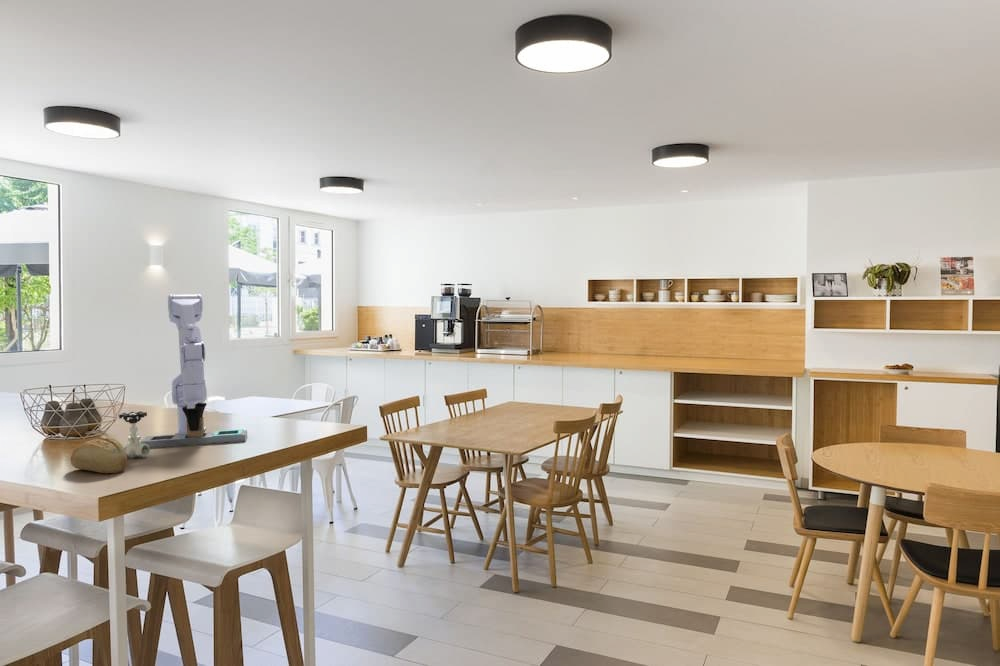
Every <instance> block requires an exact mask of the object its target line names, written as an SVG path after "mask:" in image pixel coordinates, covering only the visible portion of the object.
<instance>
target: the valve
mask: <svg viewBox="0 0 1000 666" xmlns="http://www.w3.org/2000/svg"><path fill="white" fill-rule="evenodd" d="M147 416H148V413H147V411H142V410H141V411H137V412H135V411H129V412H127V413H126V412H122V413H121V414H119V415H118V419H123V420H124V422H126V423H129V424H130V425H131V426H129V433H130V435H129V436H127V442H123V443H121V444H122V446H123V448H124V450H125V452H126V455H127V458H131V459H137V458H147V456H148V455H149V454H150V449H151V448H149V445H147V444H145V443H141V442H140V440H141V435H139V434H138V433H137V432H138V426H137V425H136V424H138V422H140V421H141V420H142V418H145V417H147Z"/></svg>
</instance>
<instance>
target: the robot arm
mask: <svg viewBox="0 0 1000 666" xmlns="http://www.w3.org/2000/svg"><path fill="white" fill-rule="evenodd" d="M203 304H204V303H203V296H202V295H201V293H198V294H171V293H170V294H168V296H167V309H168V310H167V311H168V319H169V321H170V322H171V323H173V324H175V325H176V327H177V330H178V348H179V362H180V363H179V364H180V365H179V367H180V374H179V375H177V376H176V377H175V378H173V379H172V381H171V396H172V397H171V399H172V403H173V405H176V408H177V431H176V432H174V433H175V434H174V435H177V434H187V421H188V424H189V428H190V431H198V429H199V424H200V417H203V418H204V411H205V409H206V407H207V402H206V401H207V397H208V396H207V395H208V394H207V393H208V391H207V386H206V379H205V369H204V368H205V365H204V362H205V360H206V347H205V343H204V341H203V339H202V335H201V330H200V328H199V327H198V326H197V325H196V323H199V322H200V321H201V318H202V313H203V309H204V308H203ZM206 429H207V426H204V431H205V430H206Z"/></svg>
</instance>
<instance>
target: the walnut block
mask: <svg viewBox="0 0 1000 666" xmlns="http://www.w3.org/2000/svg"><path fill="white" fill-rule="evenodd" d="M204 425H205V424H204V416H203V417H200V424H199V429H198V431H190V428H189V424H188V421H187V438H192V437H204V433H205V430H204V427H205V426H204Z"/></svg>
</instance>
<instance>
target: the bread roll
mask: <svg viewBox="0 0 1000 666" xmlns="http://www.w3.org/2000/svg"><path fill="white" fill-rule="evenodd" d="M122 444H123V443H121V442H119V441H118V440H116V439H114V438H109V437H108V438H106V437H105V438H104V437H103V438H102V437H99V438H94V439H91V440H89V441H85V442H83V443H81V444H79V445H78V446H76V448H74V450H73V451H72V453H71V456H70V463H71V465H72V467H74V468H75V469H78V470H84V471H89V472H96V473H100V474H108V473H113V474H118V473H120V472H121V471H123V470H124V469H125V468H126V465H127V463H128V457H127V455H126V452H125V450H124V448H123V446H122ZM117 472H118V473H117Z"/></svg>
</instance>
